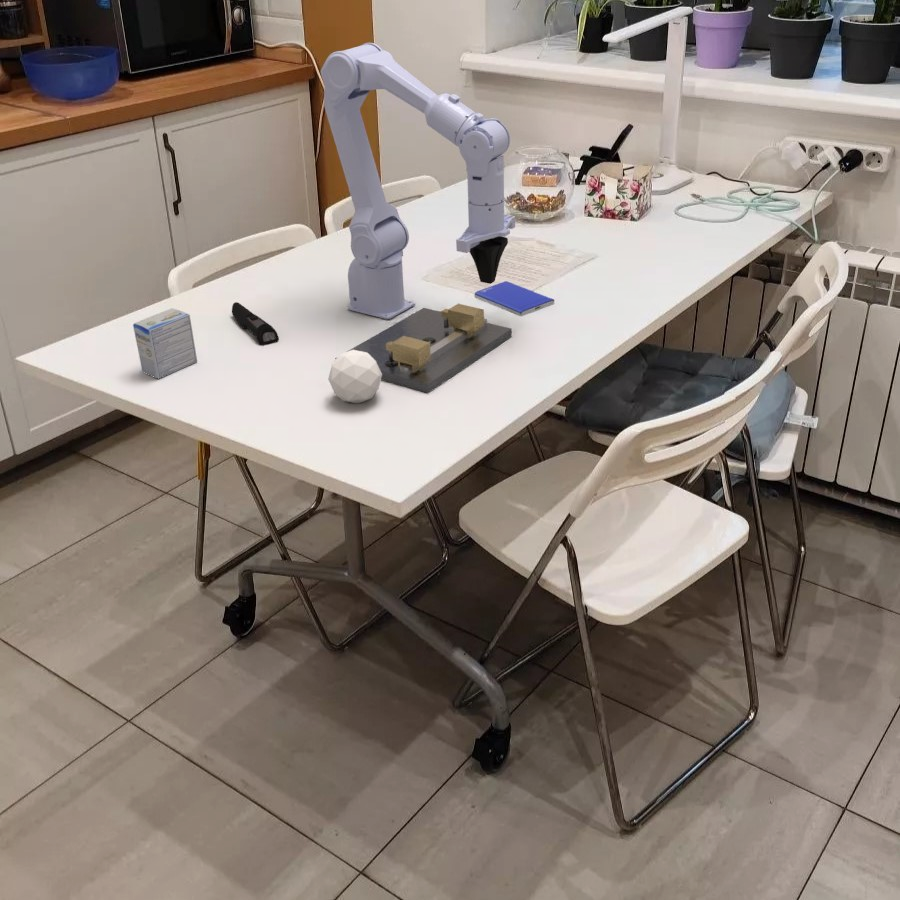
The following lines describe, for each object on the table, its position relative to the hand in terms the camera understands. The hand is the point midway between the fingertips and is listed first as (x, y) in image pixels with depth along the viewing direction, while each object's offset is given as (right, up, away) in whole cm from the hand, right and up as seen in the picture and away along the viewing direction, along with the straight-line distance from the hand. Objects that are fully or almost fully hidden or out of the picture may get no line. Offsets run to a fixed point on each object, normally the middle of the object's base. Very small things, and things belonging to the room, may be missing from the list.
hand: (487, 281), depth 172 cm
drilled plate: (-10, -12, -2) cm, 16 cm away
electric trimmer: (-40, -8, +8) cm, 42 cm away
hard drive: (+5, -2, +16) cm, 17 cm away
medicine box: (-51, -15, -4) cm, 54 cm away
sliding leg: (-4, -8, -1) cm, 9 cm away
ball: (-20, -20, -16) cm, 33 cm away
